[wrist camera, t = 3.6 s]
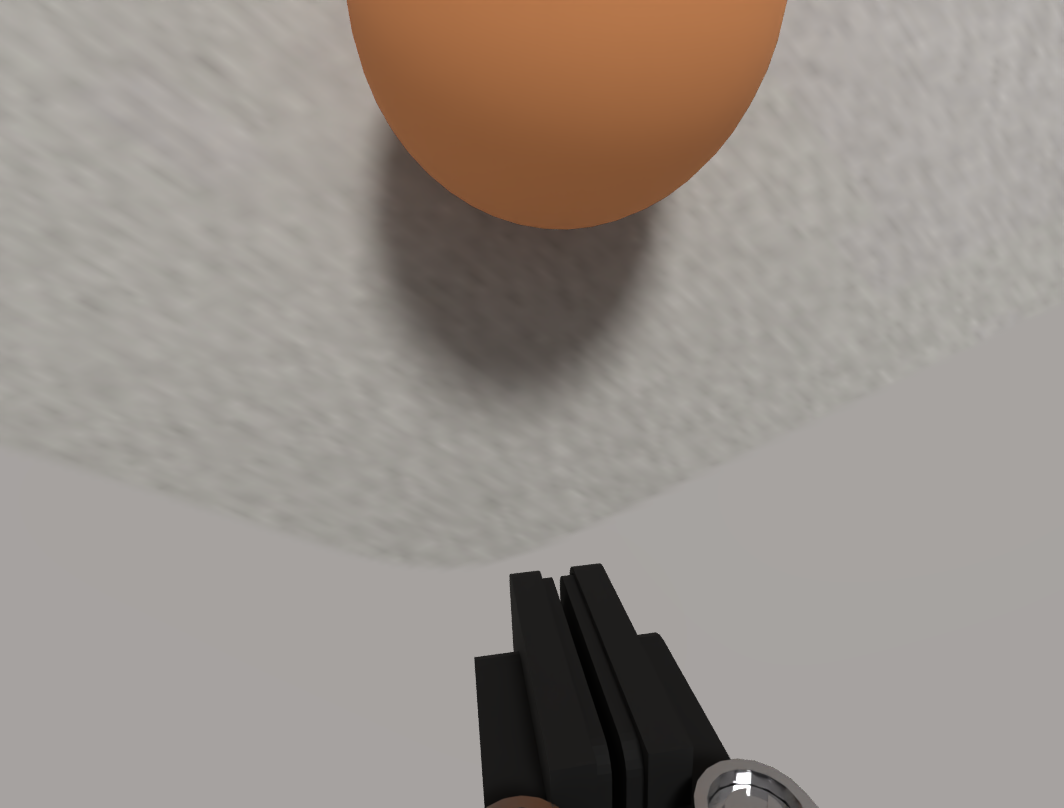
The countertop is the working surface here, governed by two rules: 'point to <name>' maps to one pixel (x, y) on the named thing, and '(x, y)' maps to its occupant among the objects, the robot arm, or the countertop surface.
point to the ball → (564, 95)
